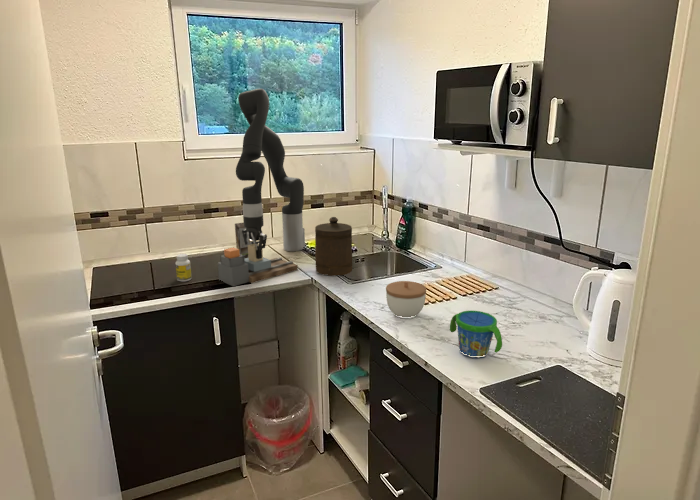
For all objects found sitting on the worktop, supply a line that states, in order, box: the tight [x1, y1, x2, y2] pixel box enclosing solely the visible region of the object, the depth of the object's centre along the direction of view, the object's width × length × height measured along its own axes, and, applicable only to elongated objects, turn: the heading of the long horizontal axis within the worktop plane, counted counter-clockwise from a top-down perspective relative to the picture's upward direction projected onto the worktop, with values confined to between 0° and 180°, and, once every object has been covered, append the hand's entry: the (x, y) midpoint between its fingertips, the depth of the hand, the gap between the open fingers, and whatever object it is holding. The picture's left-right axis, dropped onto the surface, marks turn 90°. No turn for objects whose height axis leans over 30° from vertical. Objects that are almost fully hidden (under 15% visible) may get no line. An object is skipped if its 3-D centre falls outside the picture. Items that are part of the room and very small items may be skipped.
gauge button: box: [223, 247, 240, 258], centre depth 182 cm, size 4×4×3 cm
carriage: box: [244, 243, 271, 272], centre depth 190 cm, size 8×9×9 cm
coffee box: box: [234, 222, 248, 259], centre depth 207 cm, size 9×6×16 cm
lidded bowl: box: [385, 280, 427, 317], centre depth 154 cm, size 13×13×11 cm
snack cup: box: [449, 310, 503, 356], centre depth 129 cm, size 16×10×10 cm
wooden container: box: [314, 216, 353, 277], centre depth 194 cm, size 15×15×22 cm
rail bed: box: [248, 257, 299, 284], centre depth 195 cm, size 22×14×3 cm, turn 135°
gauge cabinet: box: [217, 254, 250, 287], centre depth 184 cm, size 7×10×10 cm
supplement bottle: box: [175, 253, 192, 282], centre depth 185 cm, size 5×5×10 cm
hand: (255, 256), depth 190 cm, fingers closed on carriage, 4 cm apart
